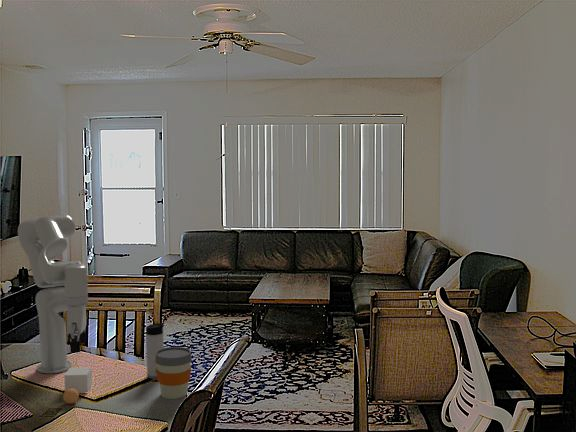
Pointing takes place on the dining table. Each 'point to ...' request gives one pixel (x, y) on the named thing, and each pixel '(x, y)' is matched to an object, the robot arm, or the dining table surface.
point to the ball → (71, 396)
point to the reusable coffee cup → (173, 371)
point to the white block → (78, 379)
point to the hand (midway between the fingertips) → (78, 347)
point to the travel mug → (153, 347)
